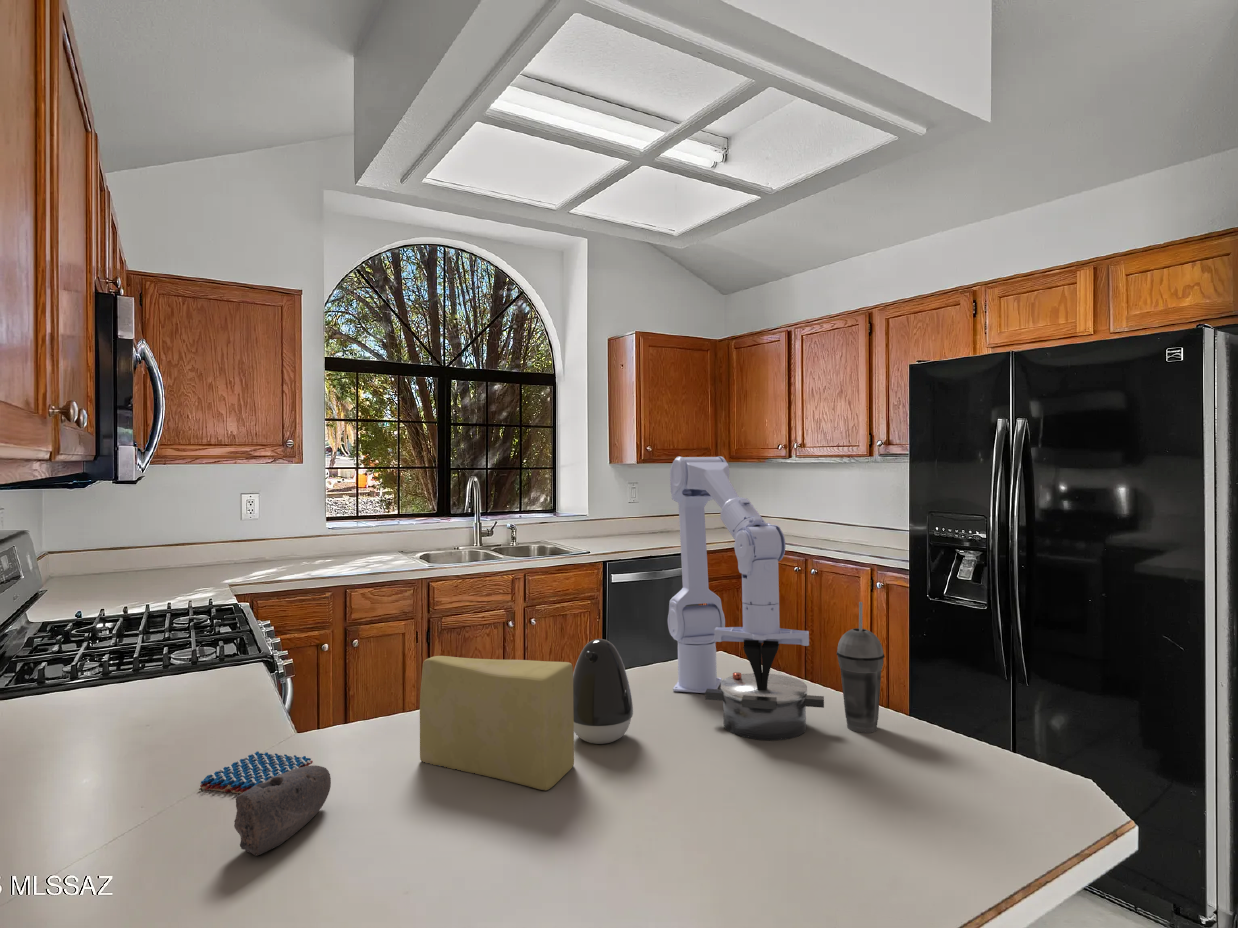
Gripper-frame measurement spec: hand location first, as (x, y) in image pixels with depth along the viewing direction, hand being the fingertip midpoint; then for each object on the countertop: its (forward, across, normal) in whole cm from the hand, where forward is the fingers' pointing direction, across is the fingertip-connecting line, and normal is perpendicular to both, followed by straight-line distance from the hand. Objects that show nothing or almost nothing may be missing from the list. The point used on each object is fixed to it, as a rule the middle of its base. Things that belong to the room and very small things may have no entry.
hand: (762, 688), depth 113 cm
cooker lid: (+1, 0, +1) cm, 2 cm away
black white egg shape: (+7, -24, -9) cm, 26 cm away
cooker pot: (+6, 0, +2) cm, 7 cm away
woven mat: (+7, -65, -34) cm, 74 cm away
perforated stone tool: (+7, -50, -46) cm, 68 cm away
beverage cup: (+7, +15, +5) cm, 17 cm away
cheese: (+7, -35, -24) cm, 43 cm away
